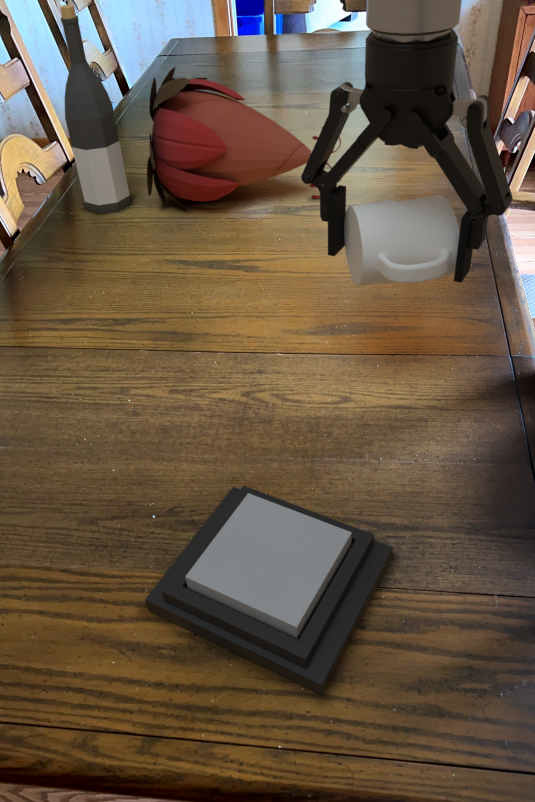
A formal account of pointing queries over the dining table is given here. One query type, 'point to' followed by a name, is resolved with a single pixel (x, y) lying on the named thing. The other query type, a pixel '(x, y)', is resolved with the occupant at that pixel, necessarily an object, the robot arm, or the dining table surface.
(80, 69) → the wine bottle
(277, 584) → the grey tile on plinth
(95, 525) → the dining table surface
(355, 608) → the black stepped plinth
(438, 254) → the mug
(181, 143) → the decorative flower
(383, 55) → the robot arm
